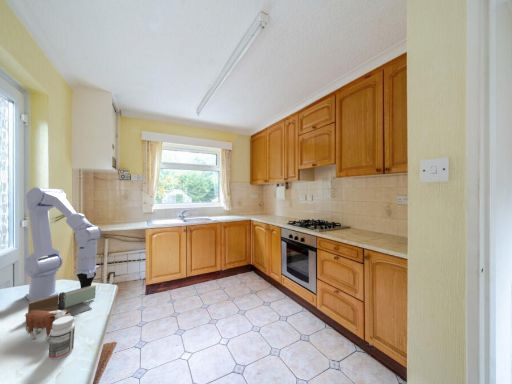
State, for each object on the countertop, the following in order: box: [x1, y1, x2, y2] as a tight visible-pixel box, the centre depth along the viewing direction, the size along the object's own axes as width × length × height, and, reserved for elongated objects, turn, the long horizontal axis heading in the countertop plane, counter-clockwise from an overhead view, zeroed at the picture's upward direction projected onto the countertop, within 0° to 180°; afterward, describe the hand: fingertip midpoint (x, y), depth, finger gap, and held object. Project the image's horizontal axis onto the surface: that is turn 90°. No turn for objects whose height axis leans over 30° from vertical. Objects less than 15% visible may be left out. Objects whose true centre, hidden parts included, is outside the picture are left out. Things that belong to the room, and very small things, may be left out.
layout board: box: [25, 302, 92, 317], centre depth 71 cm, size 14×14×1 cm
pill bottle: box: [48, 316, 76, 360], centre depth 53 cm, size 5×5×8 cm
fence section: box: [27, 291, 65, 314], centre depth 69 cm, size 1×9×6 cm, turn 147°
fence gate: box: [64, 284, 97, 308], centre depth 77 cm, size 9×1×5 cm, turn 147°
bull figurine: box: [25, 310, 71, 342], centre depth 58 cm, size 4×13×8 cm, turn 78°
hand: (85, 291), depth 81 cm, fingers closed
